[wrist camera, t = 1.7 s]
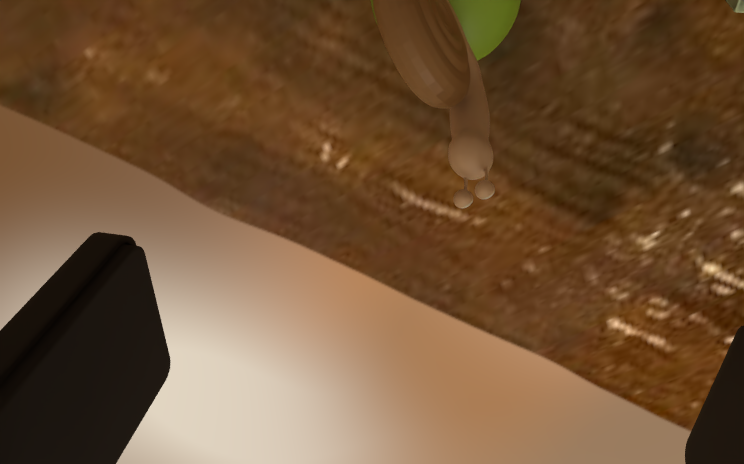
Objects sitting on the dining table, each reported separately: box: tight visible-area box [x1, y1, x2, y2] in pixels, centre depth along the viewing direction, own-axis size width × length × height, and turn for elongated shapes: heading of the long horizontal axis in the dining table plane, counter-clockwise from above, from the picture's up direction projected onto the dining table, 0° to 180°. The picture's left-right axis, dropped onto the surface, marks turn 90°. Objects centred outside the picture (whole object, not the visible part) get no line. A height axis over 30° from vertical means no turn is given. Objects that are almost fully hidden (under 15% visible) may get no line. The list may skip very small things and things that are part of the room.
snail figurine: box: [371, 0, 521, 208], centre depth 21 cm, size 5×6×12 cm
